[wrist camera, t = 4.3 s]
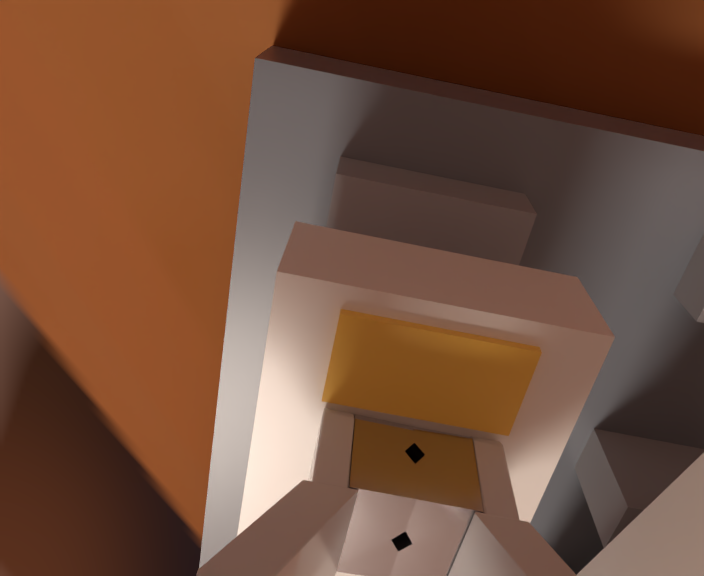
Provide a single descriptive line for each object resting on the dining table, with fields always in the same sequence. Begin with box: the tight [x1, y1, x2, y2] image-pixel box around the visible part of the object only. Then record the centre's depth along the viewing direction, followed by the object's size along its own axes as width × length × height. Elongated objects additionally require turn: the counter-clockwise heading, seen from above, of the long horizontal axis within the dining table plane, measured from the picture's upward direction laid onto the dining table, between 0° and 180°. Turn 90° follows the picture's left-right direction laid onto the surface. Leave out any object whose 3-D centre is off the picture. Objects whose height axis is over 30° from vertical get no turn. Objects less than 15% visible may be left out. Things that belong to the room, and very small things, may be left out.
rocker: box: [237, 221, 615, 576], centre depth 12 cm, size 12×5×2 cm, turn 169°
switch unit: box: [199, 46, 704, 575], centre depth 17 cm, size 18×24×5 cm
